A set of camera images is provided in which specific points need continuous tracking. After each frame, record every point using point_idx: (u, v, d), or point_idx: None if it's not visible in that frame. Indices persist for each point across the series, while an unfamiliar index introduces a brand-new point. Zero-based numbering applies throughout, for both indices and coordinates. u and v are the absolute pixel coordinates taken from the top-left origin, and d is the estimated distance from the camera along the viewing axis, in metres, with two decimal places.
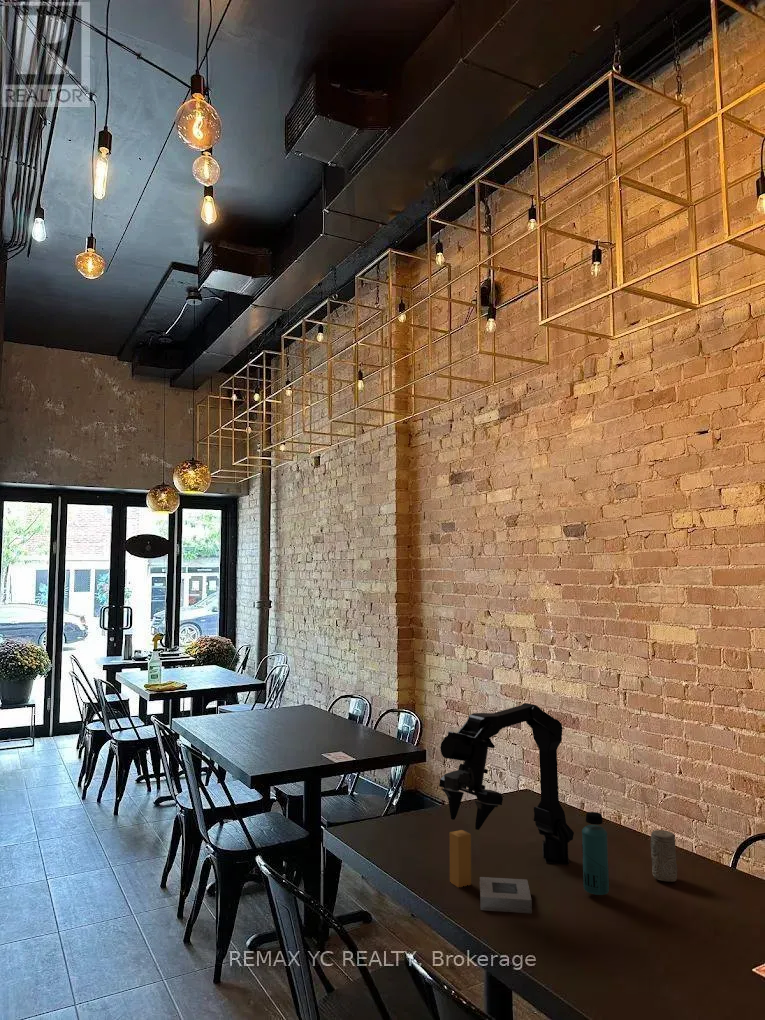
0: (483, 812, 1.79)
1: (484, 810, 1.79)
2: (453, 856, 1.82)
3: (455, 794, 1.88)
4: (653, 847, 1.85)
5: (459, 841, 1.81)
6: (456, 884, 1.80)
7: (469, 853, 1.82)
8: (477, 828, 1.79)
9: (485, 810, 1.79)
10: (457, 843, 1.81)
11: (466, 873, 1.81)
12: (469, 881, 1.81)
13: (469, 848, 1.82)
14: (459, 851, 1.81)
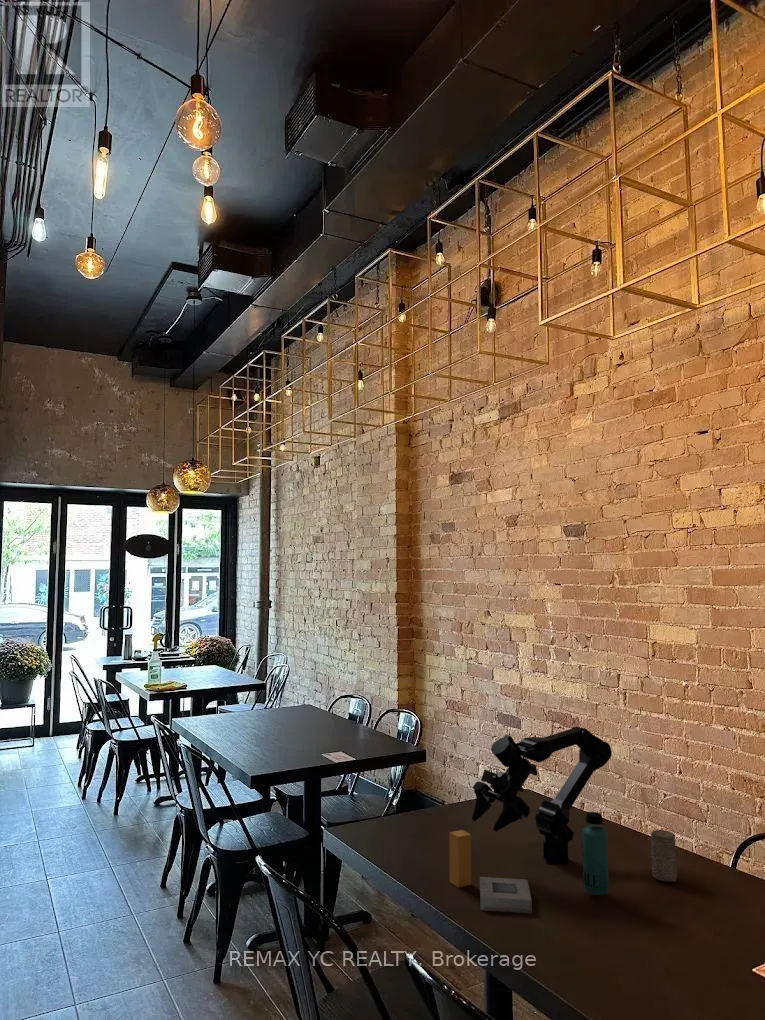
0: (506, 817, 1.85)
1: (508, 816, 1.85)
2: (453, 856, 1.82)
3: (484, 800, 1.95)
4: (653, 847, 1.85)
5: (459, 841, 1.81)
6: (456, 884, 1.80)
7: (469, 853, 1.82)
8: (495, 829, 1.84)
9: (509, 817, 1.85)
10: (457, 843, 1.81)
11: (466, 873, 1.81)
12: (469, 881, 1.81)
13: (469, 848, 1.82)
14: (459, 851, 1.81)
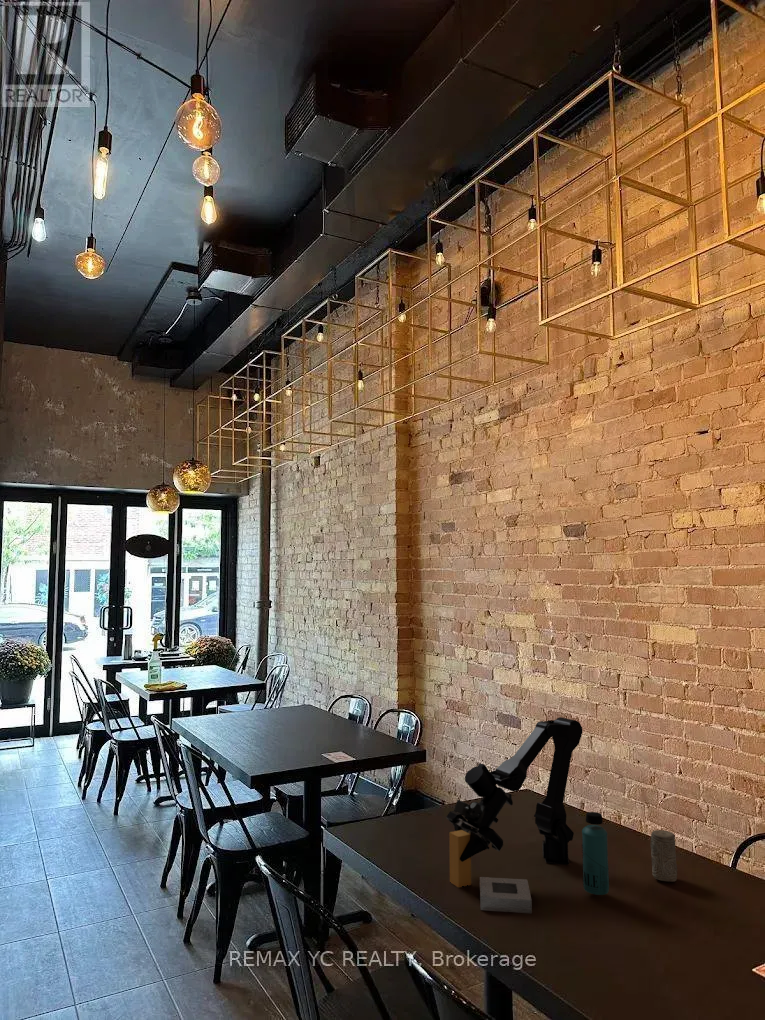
0: (473, 847, 1.81)
1: (475, 846, 1.82)
2: (453, 855, 1.82)
3: None
4: (653, 847, 1.85)
5: (459, 841, 1.81)
6: (456, 884, 1.80)
7: None
8: (461, 859, 1.80)
9: (476, 846, 1.82)
10: (457, 843, 1.81)
11: (466, 873, 1.81)
12: (469, 881, 1.81)
13: None
14: (459, 851, 1.81)
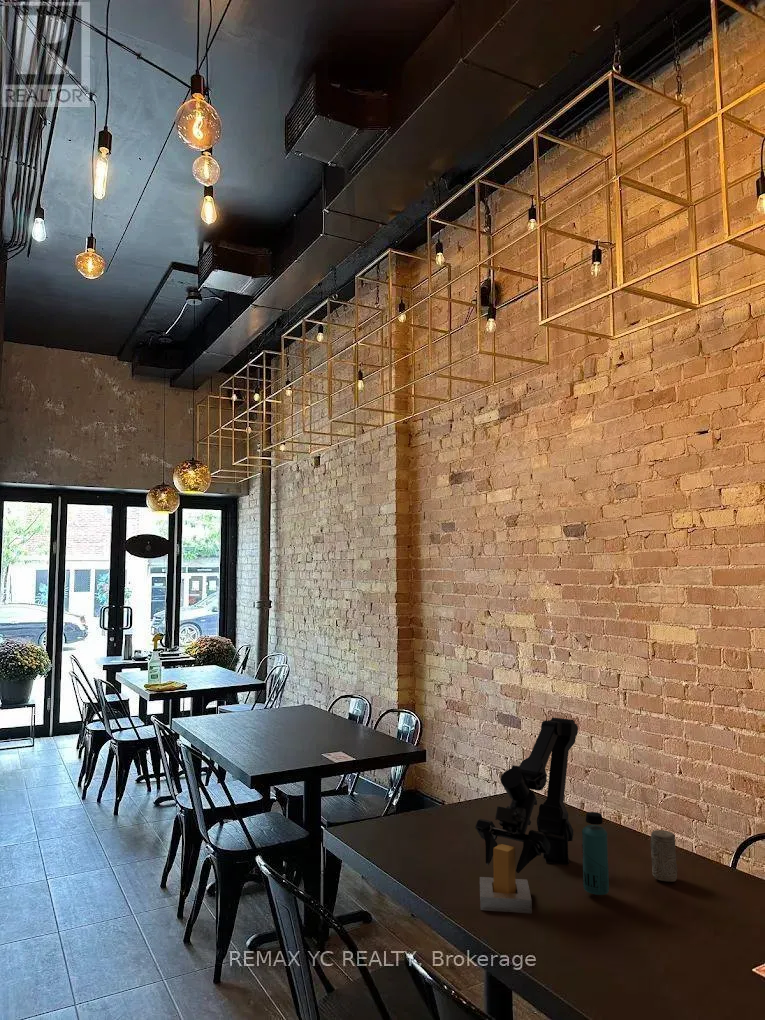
0: (527, 855, 1.72)
1: (527, 854, 1.72)
2: (499, 872, 1.71)
3: (493, 840, 1.79)
4: (653, 847, 1.85)
5: (508, 856, 1.71)
6: None
7: (514, 867, 1.73)
8: (518, 870, 1.69)
9: (528, 855, 1.72)
10: (506, 858, 1.71)
11: (512, 889, 1.72)
12: None
13: (514, 862, 1.73)
14: (508, 867, 1.71)
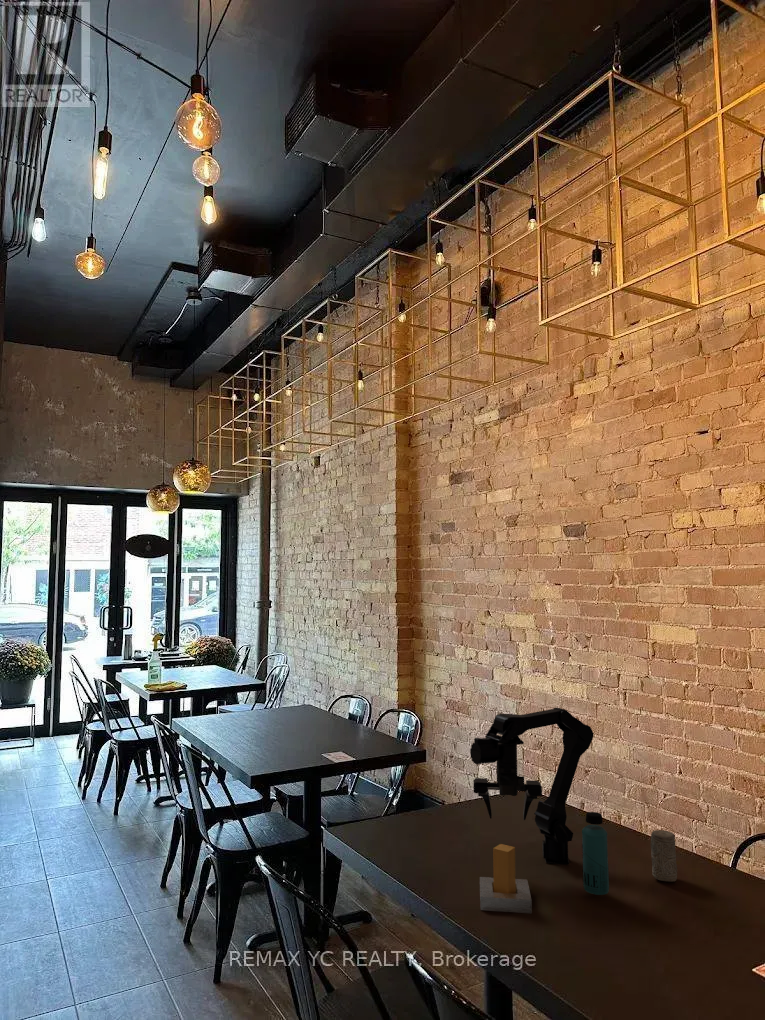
0: None
1: None
2: (499, 873, 1.71)
3: (488, 794, 1.95)
4: (653, 847, 1.85)
5: (508, 856, 1.71)
6: None
7: (514, 867, 1.73)
8: (525, 818, 1.93)
9: None
10: (505, 858, 1.71)
11: (512, 889, 1.72)
12: None
13: (514, 862, 1.73)
14: (508, 867, 1.71)
